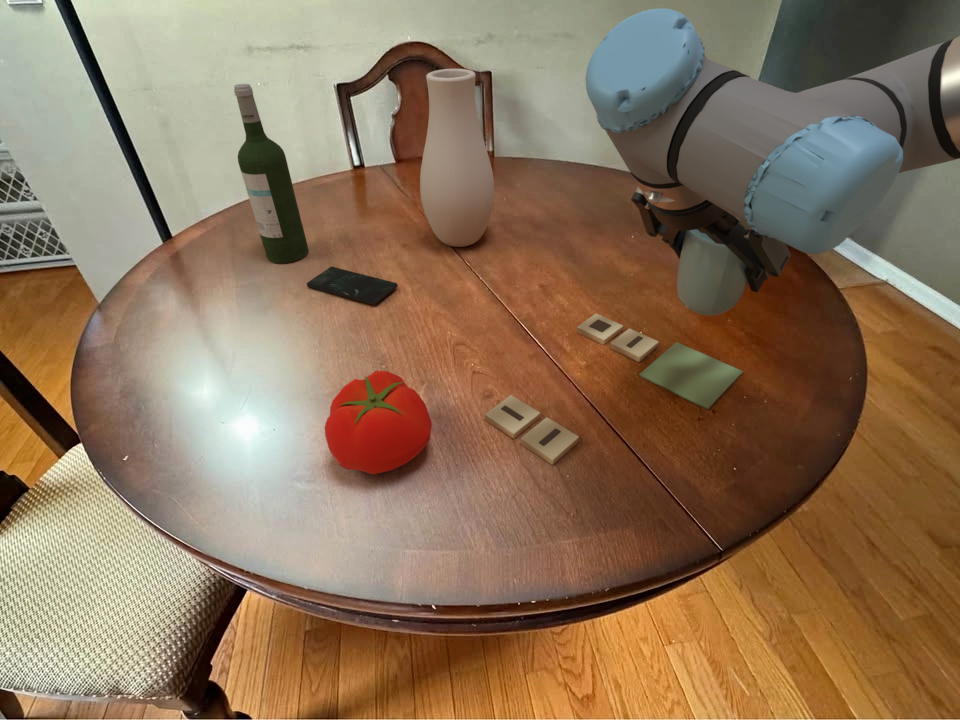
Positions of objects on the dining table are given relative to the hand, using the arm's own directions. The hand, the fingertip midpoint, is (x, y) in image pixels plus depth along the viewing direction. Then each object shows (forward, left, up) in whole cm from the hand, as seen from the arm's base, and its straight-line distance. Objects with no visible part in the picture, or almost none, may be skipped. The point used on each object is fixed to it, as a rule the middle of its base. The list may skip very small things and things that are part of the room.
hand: (724, 269), depth 67 cm
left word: (+9, +24, -16) cm, 30 cm away
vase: (+53, -6, -16) cm, 56 cm away
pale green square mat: (+6, +1, -16) cm, 17 cm away
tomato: (+20, +38, -16) cm, 46 cm away
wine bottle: (+74, +20, -16) cm, 79 cm away
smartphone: (+54, +19, -16) cm, 60 cm away
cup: (0, +3, -4) cm, 5 cm away
